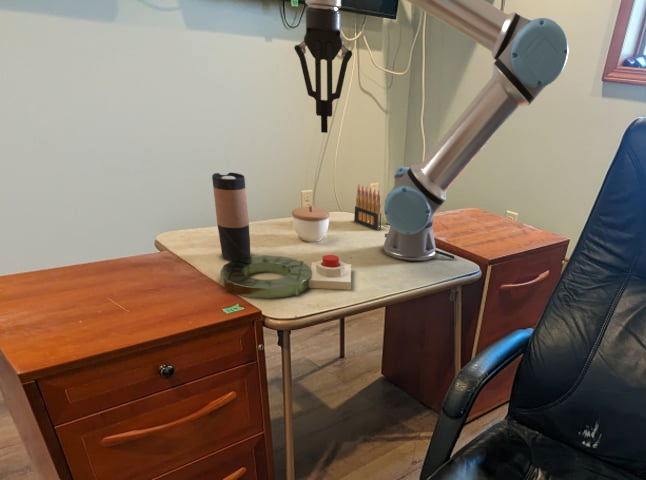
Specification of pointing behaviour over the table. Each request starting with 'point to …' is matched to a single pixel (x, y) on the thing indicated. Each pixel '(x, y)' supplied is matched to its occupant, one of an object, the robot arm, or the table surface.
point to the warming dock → (241, 284)
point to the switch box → (330, 276)
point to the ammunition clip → (368, 208)
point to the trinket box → (310, 223)
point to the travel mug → (232, 215)
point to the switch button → (330, 261)
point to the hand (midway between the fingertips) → (324, 131)
